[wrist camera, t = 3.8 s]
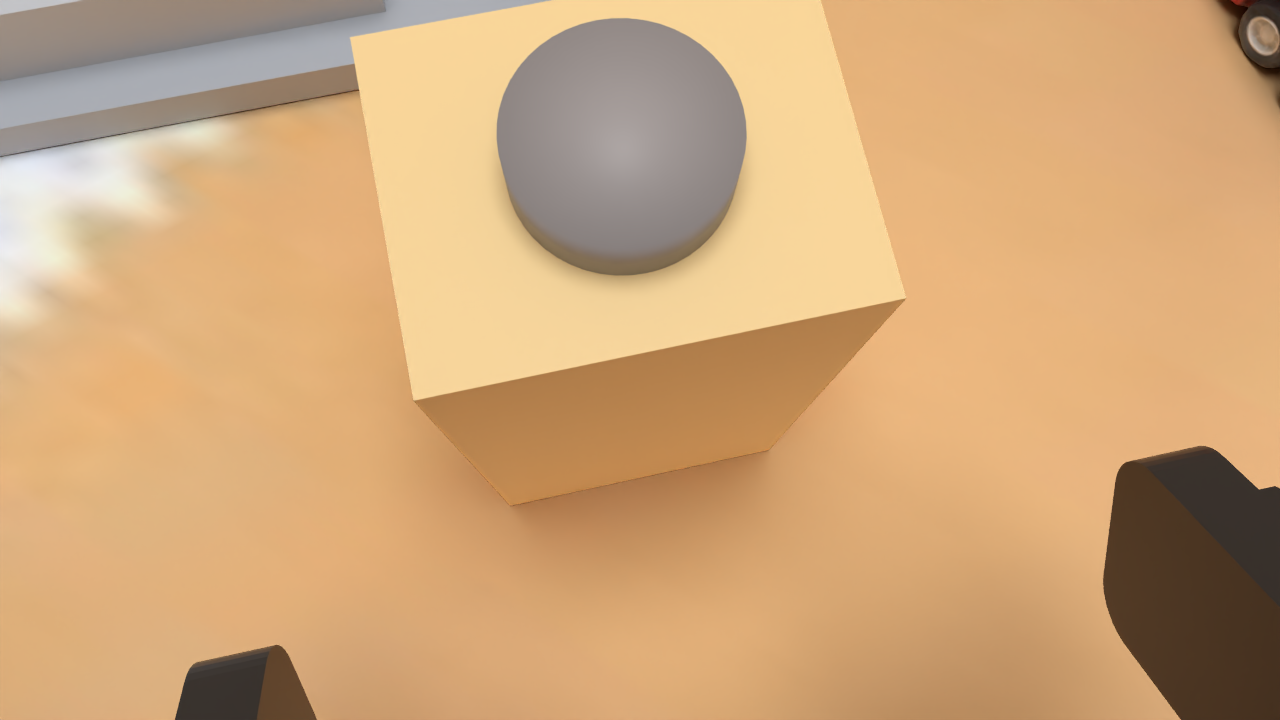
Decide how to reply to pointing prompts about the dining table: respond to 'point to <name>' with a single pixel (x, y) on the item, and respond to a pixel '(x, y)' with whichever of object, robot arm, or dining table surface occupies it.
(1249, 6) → the toy fire truck
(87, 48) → the grey insertion tray
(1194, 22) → the dining table surface
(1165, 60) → the dining table surface
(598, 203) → the tan knobbed block
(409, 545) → the dining table surface
